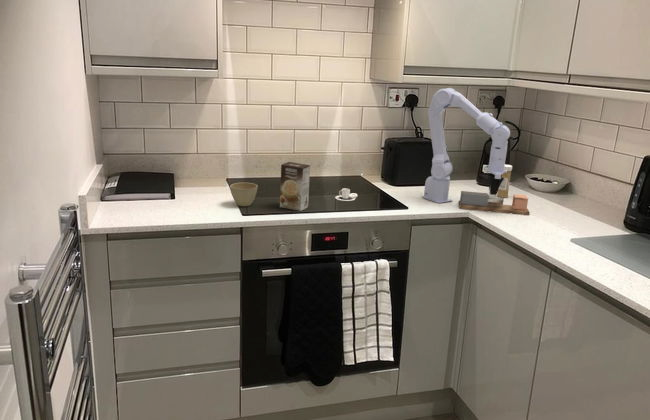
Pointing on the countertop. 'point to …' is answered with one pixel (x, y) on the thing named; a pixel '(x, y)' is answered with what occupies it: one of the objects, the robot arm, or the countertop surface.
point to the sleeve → (474, 199)
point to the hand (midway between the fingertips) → (492, 193)
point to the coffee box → (294, 186)
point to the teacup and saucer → (346, 195)
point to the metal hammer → (495, 199)
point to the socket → (519, 202)
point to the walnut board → (495, 209)
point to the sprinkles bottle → (505, 182)
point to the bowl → (243, 193)
